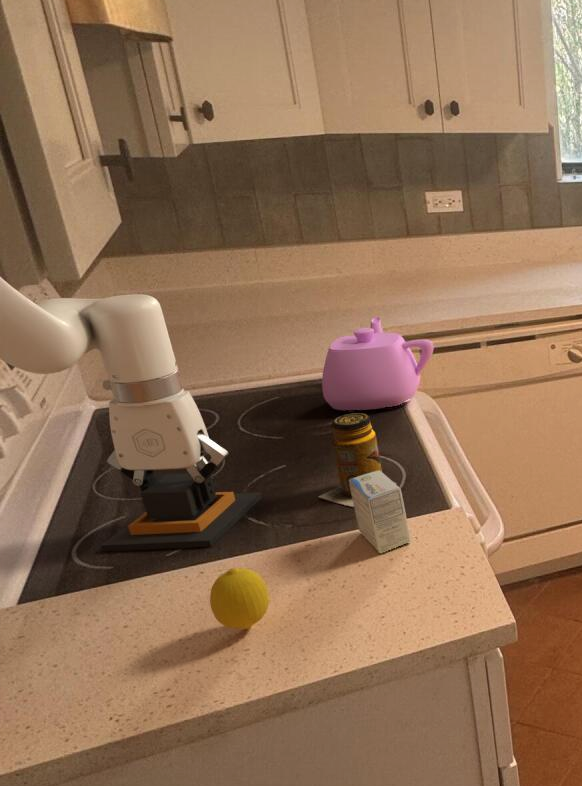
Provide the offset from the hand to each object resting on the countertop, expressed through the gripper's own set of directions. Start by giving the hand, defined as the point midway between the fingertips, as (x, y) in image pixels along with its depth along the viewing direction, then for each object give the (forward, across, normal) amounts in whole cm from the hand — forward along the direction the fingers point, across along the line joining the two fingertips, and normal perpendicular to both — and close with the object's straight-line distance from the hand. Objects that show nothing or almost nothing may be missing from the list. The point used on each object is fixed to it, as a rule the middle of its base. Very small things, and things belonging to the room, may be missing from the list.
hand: (182, 503), depth 112 cm
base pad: (+3, 0, 0) cm, 3 cm away
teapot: (+3, +10, +49) cm, 50 cm away
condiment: (+3, +21, +8) cm, 23 cm away
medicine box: (+3, +30, -7) cm, 31 cm away
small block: (+1, 0, 0) cm, 1 cm away
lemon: (+3, +21, -26) cm, 34 cm away
